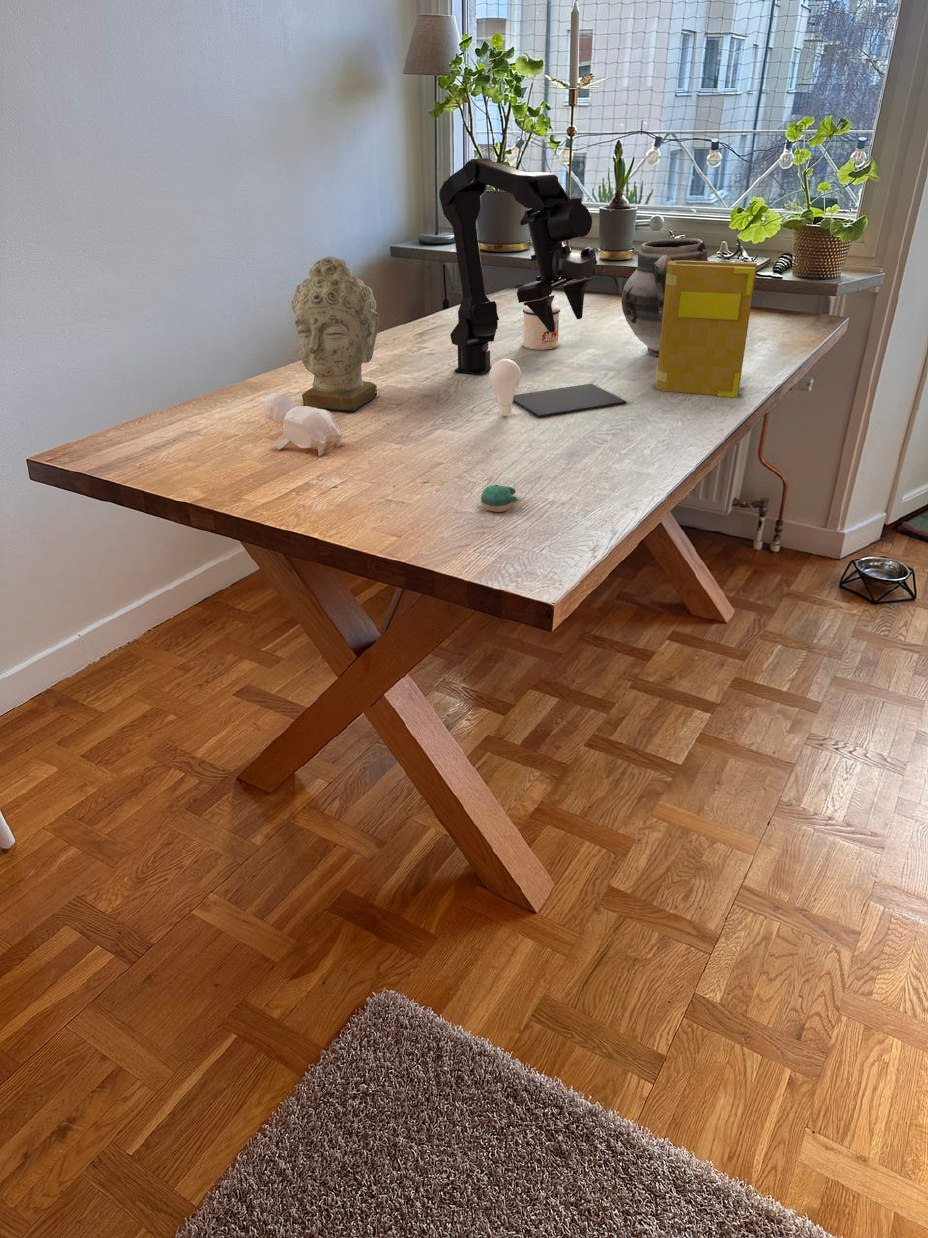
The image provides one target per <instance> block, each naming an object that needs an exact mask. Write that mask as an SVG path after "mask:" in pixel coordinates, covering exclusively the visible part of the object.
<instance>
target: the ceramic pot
mask: <svg viewBox="0 0 928 1238" xmlns="http://www.w3.org/2000/svg"><path fill="white" fill-rule="evenodd" d="M676 260H687V261H709V259H708V249H707V247H706V245H705V241H704V240H702V239H700V238H694V237H692V238H691V237H690V238H685V237H684V238H683V237H682V238H665V239H653V240H649V241H646V242H643V243H642V244H641V246H640V248H639V251H638V254H637V266H636V269H635V271H633V273H632V274H631V275H630V276H629V278H628V279H627V281H626V283H625V285H624V286H623V289H622V293H621V301H620V302H621V309H622V313H623V315H624V318H625V320H626V322H627V324H628V326H629V328H630V329H631V330H632V332H633V334H634V336H635V337H636V338H637V339H638V340H639V341H640V342H641V343H643V344H644V345H645V346H646V347H647V352H648V354H649V355H650V356H655V357H659V348H660V338H661V327H662V316H663V306H664V295H665V285H666V274H667V263H668V262H669V261H676Z"/></svg>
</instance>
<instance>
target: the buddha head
mask: <svg viewBox="0 0 928 1238" xmlns="http://www.w3.org/2000/svg"><path fill="white" fill-rule="evenodd" d="M291 309H292V311H293V313H294V325H295V328H296V333H297V349H298V354H299V357H300V360H301V362H302V365H303V366H304V368H305V369H306V370H307V371H308V372H309V373H311V375H313V382H312V387H311V388H309V389H307V390H306V391H305V392H303V393H302V394H301V397H302V404H303V405H302V406H309V407H313V408H317V409H324V410H327V411H338V412H345V413H350V412H351V413H354V412H356V411H358V410H359V409H360V408H361V407H362V406H364V405H365V404H367V403H368V402H371V401H372V400H374V399H375V398H376V397H377V396H378V386H377V385H376V384H375V383H374V382H372V381H364V380H363V376H362V364H368V363H370V362H371V360H372V359H373V357H374V349H375V345H376V340H377V336H378V333H379V327H380V315H379V313H378V312H377V311H376V309H377V301H376V299H375V298H374V292H373V290H372V288H371V287H370V286H368V285H366V284H365V283H364V281H363V280H362V279H361V278H359V277H355V276H354V274H353V272H352V270H351V268H349V267H348V266H347V263H346V261H345V260H343V259H342V258H338V257H335V256H325V257H323V258H321V259H319V260H317V261H316V262H315V263H314V264H313V265H312V266H311V268H309V270H308V278H305V279H304V280H303V281H302V283H300V284H298V285H297V286H296V289H295V293H294V294H293V297H292V300H291Z"/></svg>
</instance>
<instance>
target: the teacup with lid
mask: <svg viewBox="0 0 928 1238" xmlns="http://www.w3.org/2000/svg"><path fill="white" fill-rule="evenodd" d="M551 306H552V312H553V318H554V323H555V332H552V333H550V332H549V330H548V329H547V328H546V327H545V325H544V324H543V323H542V322H541V320H540V319H539V318H538V317H537V316H536V314H535V313H534V312H533V311H532V310H531V309H530V308H529V307H528V306H527V305H526V306H524V307H523V309H522V313H523V327H522V329H523V330H522V334H523V335H522V345H523V347H524V348H526V349H530V350H538V351H545V350H546V351H547V350H553V349H555V348H557V347H558V345H559V329H560V328H559V325H560V312H561V308H560V306H559V305H557V304H553V303H552V304H551Z"/></svg>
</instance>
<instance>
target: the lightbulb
mask: <svg viewBox="0 0 928 1238" xmlns="http://www.w3.org/2000/svg"><path fill="white" fill-rule="evenodd" d="M521 371H522V370H521V368H520V367H519V365H518V364H517V363H516V362H515V361H514V360H511V359H507V358H503V359H499V360H498V361H496V362H494V364H493V365H491V368H490V369H489V374H488V378H489V382H490V384H491V386H492V388H493V389H494V392H495V396H496V403H497V410H498V413H499V414H500V415H501V416H502V417H508V415H510V414H511V413H512V408H513V407H512V406H513V403H514V402H513V397H514V395H515V394H516V393H515V392H516V390H517V389H518V386H519V384H520V382H521V379H522V373H521Z"/></svg>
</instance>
